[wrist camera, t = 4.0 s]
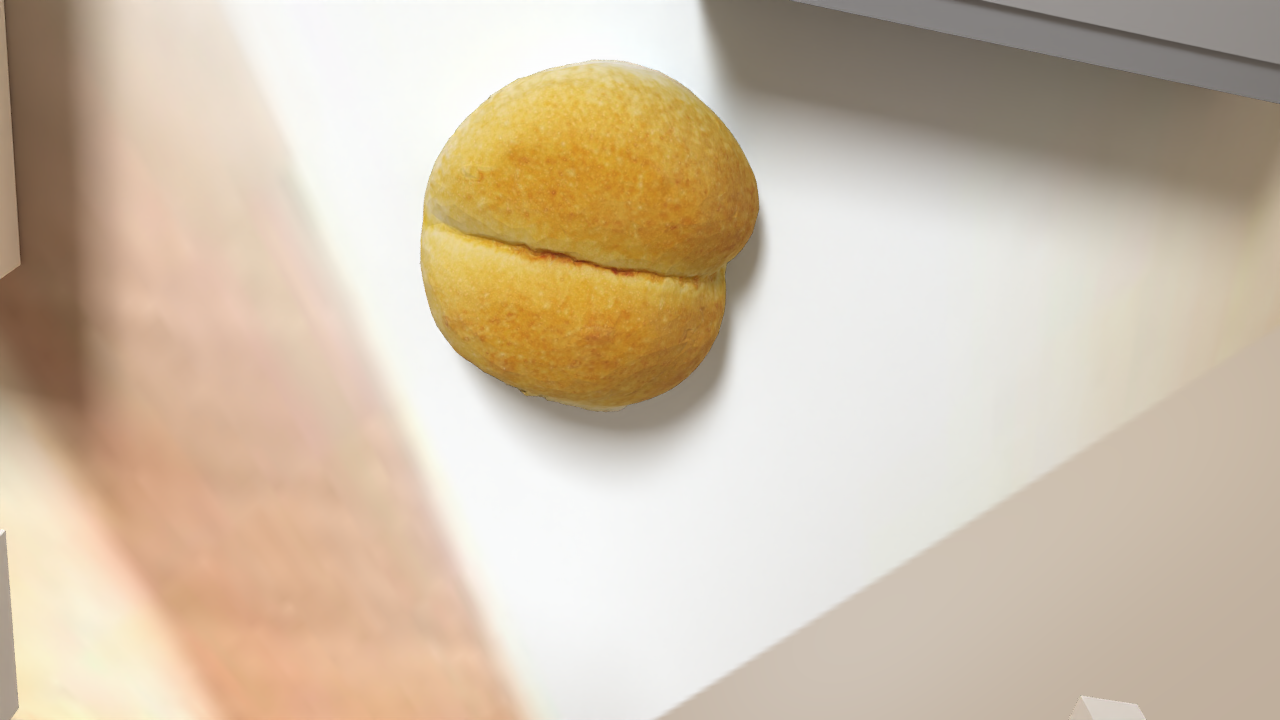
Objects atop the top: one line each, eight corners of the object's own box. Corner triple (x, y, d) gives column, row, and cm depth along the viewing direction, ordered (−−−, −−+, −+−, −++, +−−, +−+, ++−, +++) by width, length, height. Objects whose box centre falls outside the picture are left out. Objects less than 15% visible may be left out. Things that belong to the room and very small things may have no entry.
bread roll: (787, 99, 27) (810, 140, 23) (685, 398, 31) (692, 472, 27) (466, 7, 26) (440, 35, 22) (402, 328, 30) (370, 396, 26)
